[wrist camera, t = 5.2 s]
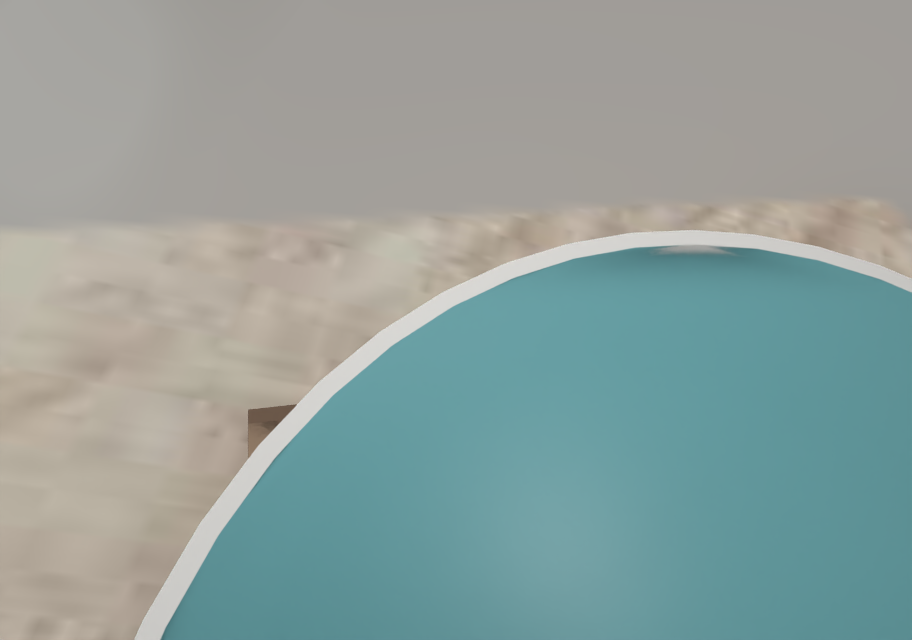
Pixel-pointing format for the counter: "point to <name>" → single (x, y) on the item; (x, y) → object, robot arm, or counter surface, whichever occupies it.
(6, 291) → the counter surface
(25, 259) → the counter surface
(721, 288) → the tin
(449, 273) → the counter surface
